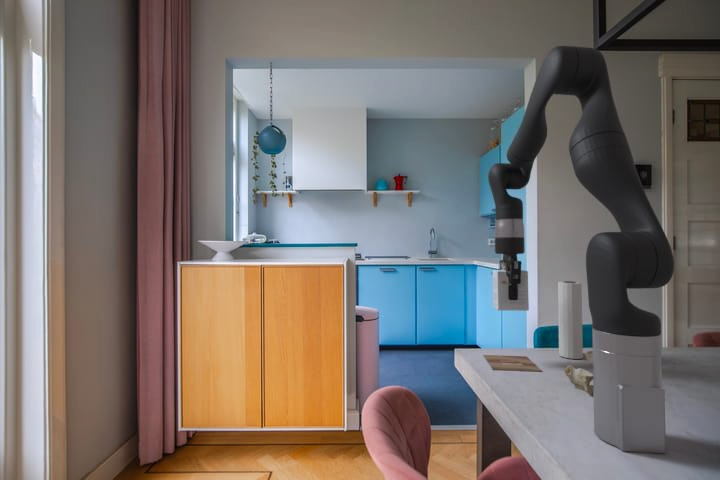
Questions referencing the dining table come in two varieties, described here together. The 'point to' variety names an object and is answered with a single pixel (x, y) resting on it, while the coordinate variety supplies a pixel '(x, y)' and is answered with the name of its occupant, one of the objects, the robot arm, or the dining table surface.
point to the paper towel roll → (570, 319)
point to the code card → (511, 363)
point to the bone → (581, 375)
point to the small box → (501, 292)
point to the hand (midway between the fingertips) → (510, 298)
